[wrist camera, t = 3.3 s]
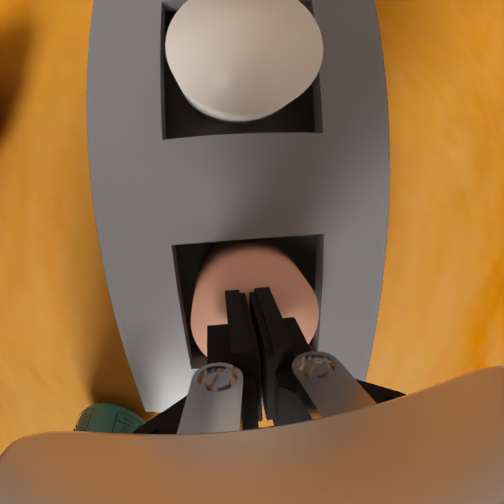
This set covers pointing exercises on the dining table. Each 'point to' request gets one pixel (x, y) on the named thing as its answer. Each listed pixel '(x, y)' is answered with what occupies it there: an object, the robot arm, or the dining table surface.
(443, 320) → the dining table surface
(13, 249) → the dining table surface
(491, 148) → the dining table surface
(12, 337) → the dining table surface
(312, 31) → the white rounded piece
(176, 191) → the grey rectangular block
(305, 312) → the brown egg
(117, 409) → the beverage bottle
